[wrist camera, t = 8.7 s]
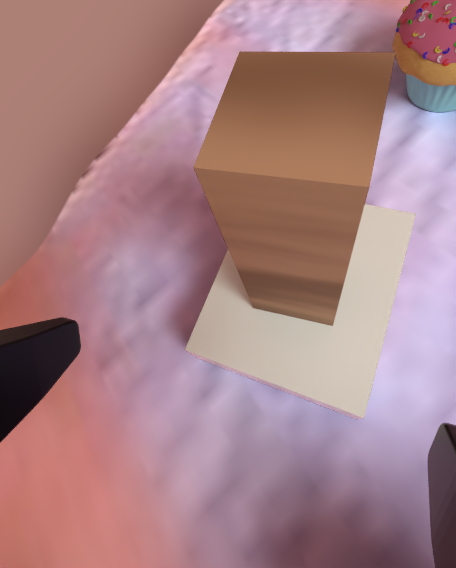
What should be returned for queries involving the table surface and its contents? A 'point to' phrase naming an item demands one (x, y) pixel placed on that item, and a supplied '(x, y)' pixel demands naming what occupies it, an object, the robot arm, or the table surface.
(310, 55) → the brown wooden block
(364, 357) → the plate
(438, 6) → the cupcake
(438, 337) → the table surface
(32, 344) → the robot arm
